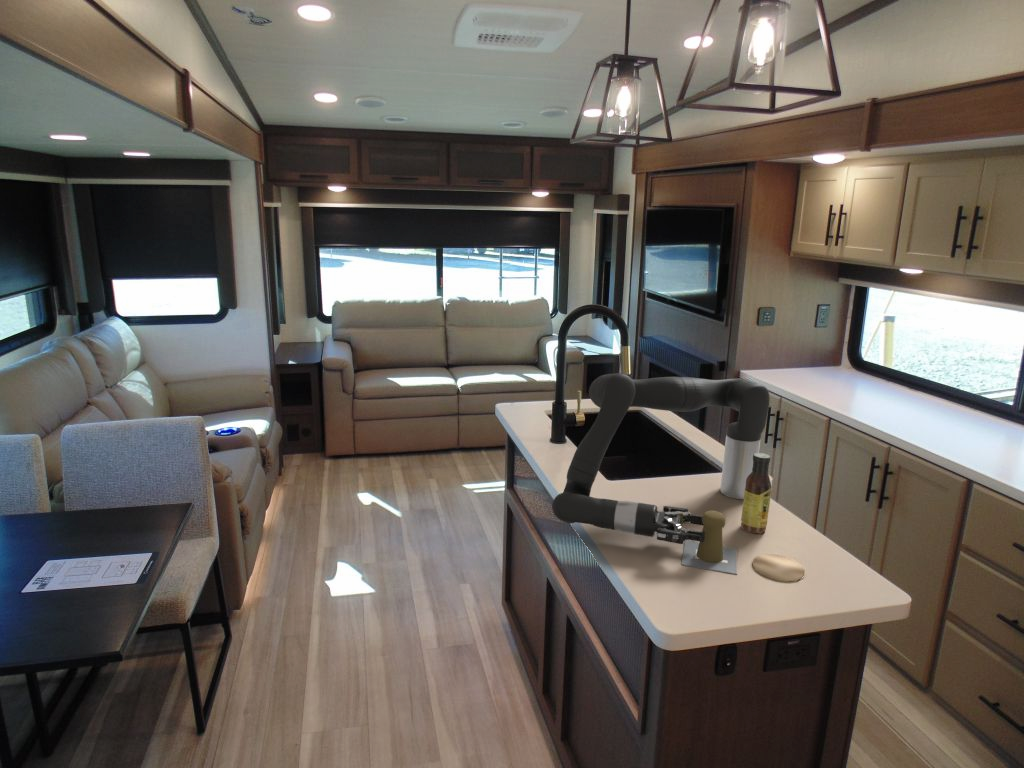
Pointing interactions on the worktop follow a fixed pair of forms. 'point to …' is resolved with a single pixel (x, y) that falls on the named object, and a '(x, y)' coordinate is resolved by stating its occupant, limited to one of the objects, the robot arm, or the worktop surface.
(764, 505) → the sauce bottle
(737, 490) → the robot arm
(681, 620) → the worktop surface
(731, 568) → the tile
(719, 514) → the pepper shaker
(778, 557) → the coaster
